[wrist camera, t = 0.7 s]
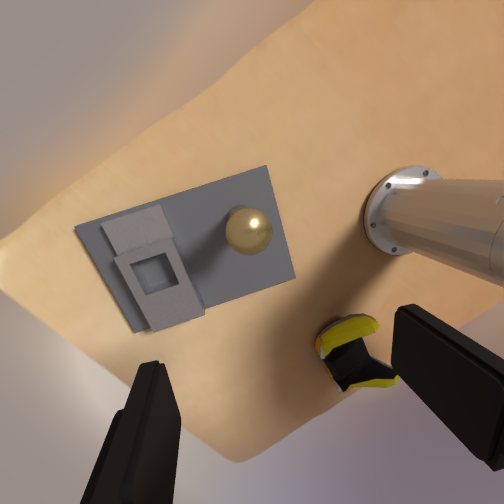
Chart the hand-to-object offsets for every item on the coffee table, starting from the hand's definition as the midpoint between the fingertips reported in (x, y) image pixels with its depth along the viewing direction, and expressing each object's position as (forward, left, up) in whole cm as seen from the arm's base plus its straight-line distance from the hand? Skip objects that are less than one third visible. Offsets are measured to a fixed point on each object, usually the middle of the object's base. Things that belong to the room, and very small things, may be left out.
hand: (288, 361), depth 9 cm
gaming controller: (-12, +26, -25) cm, 37 cm away
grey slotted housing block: (+11, +1, -23) cm, 26 cm away
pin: (-1, -2, -23) cm, 23 cm away
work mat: (+6, +1, -24) cm, 25 cm away
